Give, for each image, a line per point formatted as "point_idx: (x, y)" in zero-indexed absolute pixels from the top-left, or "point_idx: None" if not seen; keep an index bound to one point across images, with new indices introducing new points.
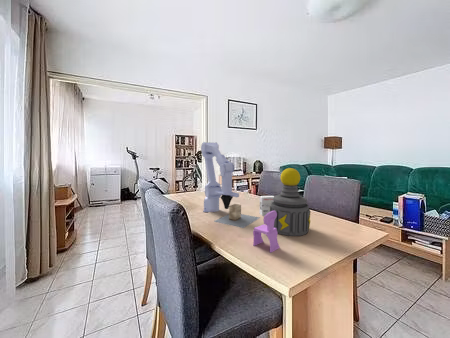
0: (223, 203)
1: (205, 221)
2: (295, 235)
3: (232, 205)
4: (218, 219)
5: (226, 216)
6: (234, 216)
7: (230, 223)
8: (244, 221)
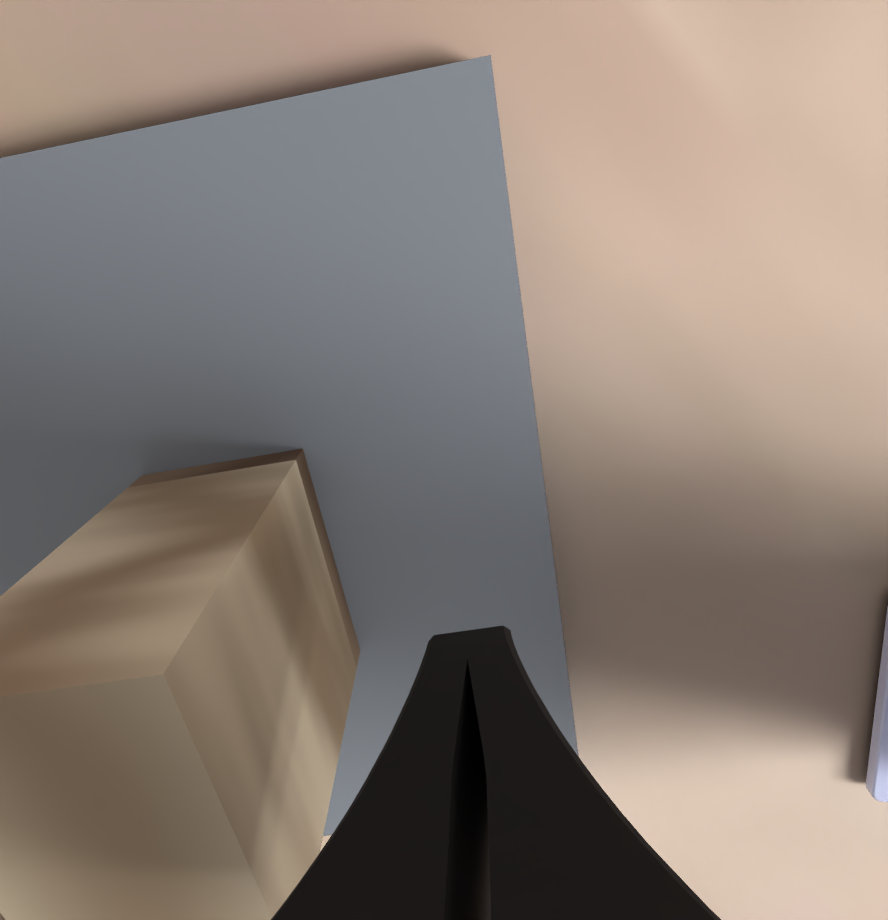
0: (564, 744)
1: (749, 13)
2: None
3: (150, 797)
4: (493, 284)
5: (507, 568)
6: (117, 515)
7: (61, 263)
8: (9, 568)
